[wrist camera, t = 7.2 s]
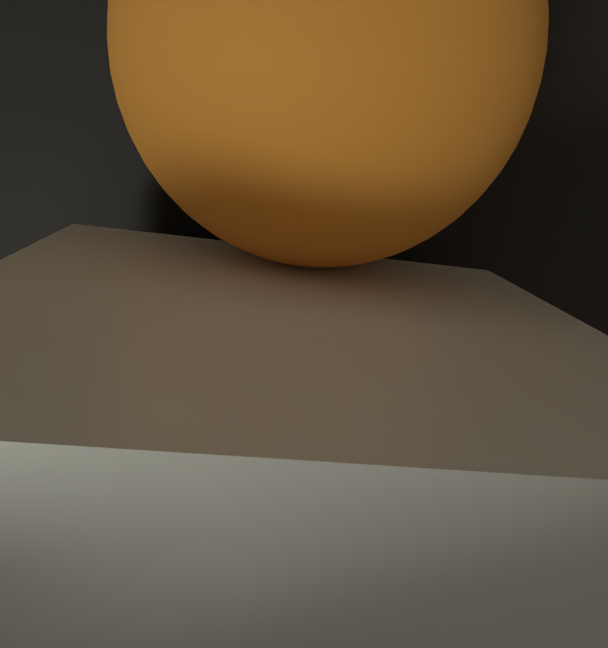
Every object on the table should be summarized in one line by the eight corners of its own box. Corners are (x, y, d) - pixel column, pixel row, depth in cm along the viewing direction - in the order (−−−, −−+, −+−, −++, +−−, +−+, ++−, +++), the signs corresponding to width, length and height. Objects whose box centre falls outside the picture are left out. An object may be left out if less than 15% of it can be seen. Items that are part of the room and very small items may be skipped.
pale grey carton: (67, 669, 11) (-140, 1291, 5) (72, 223, 8) (-320, 420, 3) (395, 674, 12) (548, 1213, 6) (488, 269, 9) (908, 499, 3)
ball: (69, 329, 6) (5, -395, 3) (144, 158, 10) (145, -232, 7) (514, 368, 7) (788, -190, 4) (418, 193, 11) (517, -145, 8)
